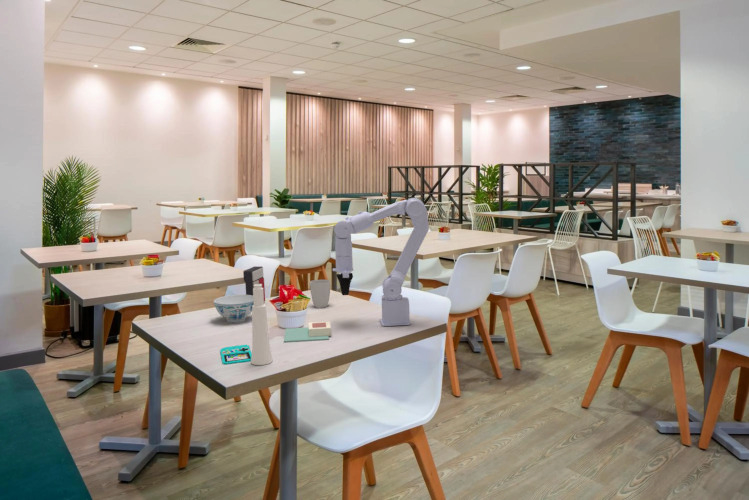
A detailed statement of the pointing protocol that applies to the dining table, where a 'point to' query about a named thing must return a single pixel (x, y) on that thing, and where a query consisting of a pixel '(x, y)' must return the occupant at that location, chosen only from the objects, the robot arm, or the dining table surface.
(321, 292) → the cup
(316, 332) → the card box
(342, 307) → the dining table surface
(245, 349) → the handheld gaming console
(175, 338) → the dining table surface
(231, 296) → the chinaware
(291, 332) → the mat
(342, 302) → the dining table surface
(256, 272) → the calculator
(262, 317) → the cosmetic bottle
